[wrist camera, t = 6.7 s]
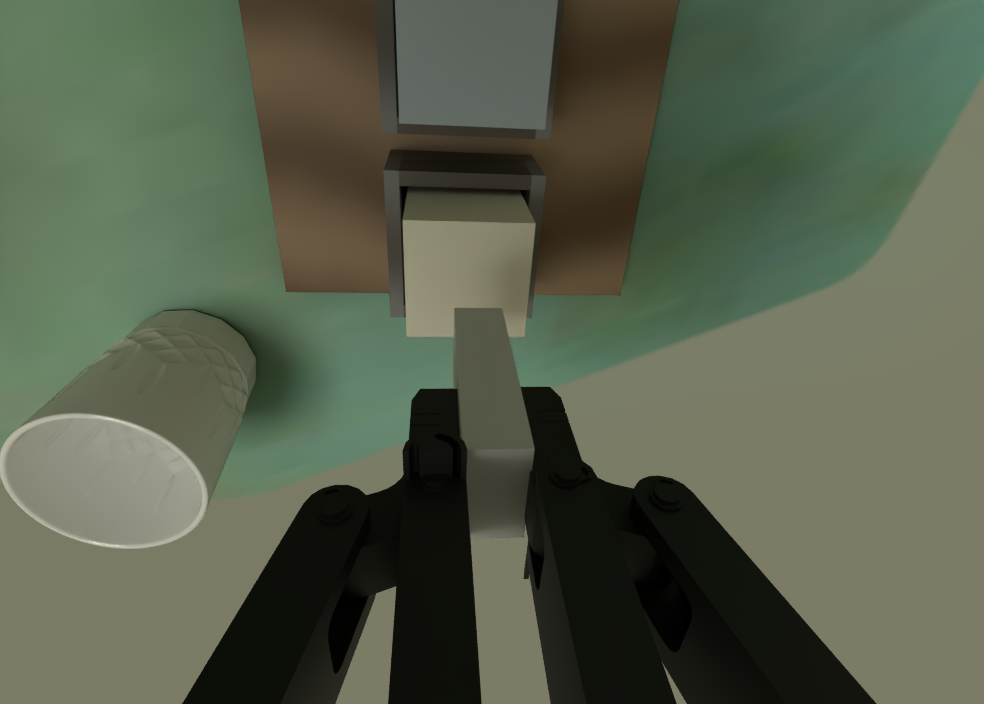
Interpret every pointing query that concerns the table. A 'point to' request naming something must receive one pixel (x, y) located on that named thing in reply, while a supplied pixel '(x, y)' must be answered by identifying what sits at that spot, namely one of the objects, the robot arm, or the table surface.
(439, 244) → the cream key
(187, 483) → the white cup
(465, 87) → the slate key
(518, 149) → the board
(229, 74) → the table surface
